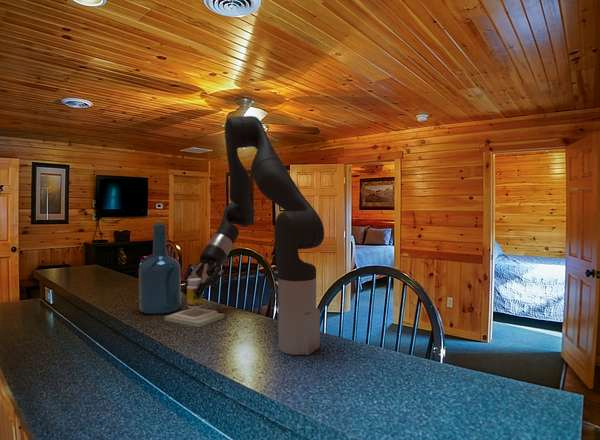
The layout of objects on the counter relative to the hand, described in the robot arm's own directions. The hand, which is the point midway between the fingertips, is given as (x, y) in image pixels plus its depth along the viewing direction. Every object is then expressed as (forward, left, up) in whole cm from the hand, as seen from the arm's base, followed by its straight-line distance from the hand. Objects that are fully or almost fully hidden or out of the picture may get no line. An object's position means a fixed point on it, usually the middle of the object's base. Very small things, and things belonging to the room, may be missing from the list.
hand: (190, 294), depth 117 cm
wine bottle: (+18, -4, -8) cm, 20 cm away
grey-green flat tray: (0, -2, -8) cm, 8 cm away
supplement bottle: (0, -2, -4) cm, 5 cm away
